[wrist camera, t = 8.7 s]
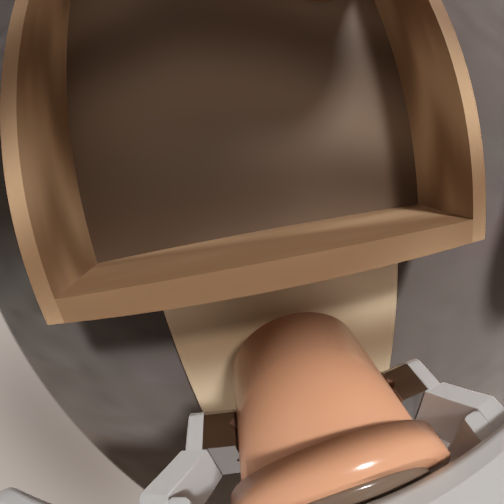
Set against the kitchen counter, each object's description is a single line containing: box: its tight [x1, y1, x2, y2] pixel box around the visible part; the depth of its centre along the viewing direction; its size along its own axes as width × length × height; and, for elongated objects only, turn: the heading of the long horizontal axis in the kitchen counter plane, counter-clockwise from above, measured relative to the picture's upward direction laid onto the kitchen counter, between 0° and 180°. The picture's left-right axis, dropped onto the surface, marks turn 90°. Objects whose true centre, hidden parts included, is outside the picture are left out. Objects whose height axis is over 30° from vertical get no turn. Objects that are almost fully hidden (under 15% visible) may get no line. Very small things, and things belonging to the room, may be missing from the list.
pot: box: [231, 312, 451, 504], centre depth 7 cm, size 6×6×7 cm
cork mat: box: [163, 263, 398, 412], centre depth 12 cm, size 7×10×1 cm
